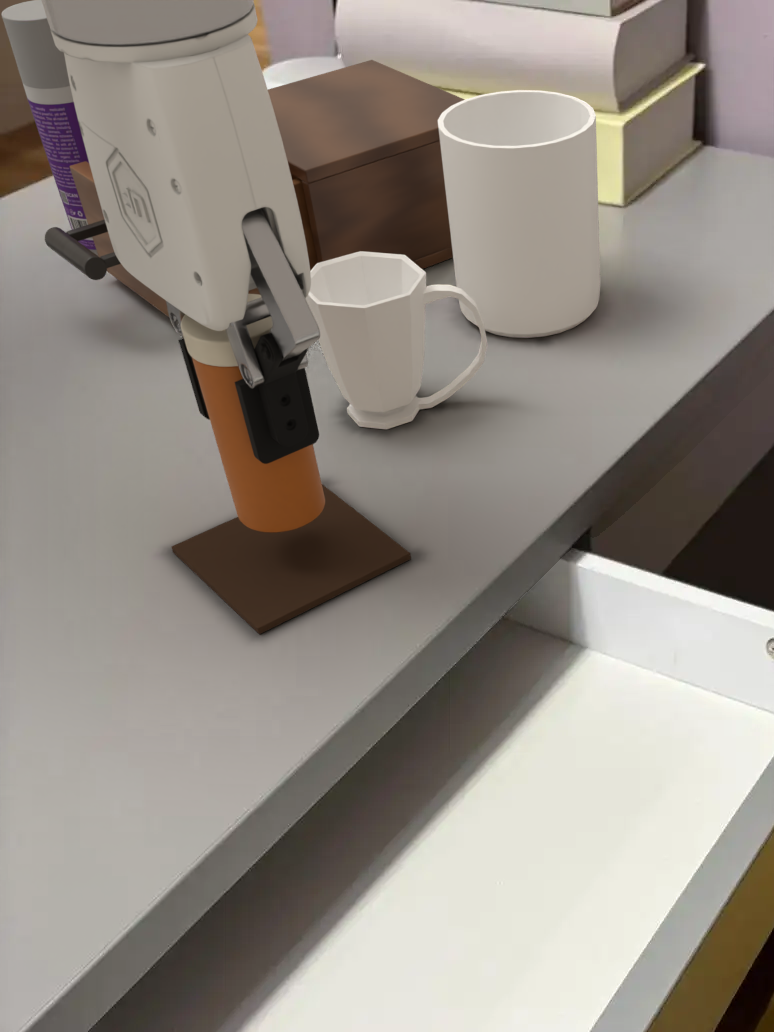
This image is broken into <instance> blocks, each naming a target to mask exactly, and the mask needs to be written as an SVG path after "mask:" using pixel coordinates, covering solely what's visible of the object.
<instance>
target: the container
mask: <svg viewBox="0 0 774 1032" xmlns="http://www.w3.org/2000/svg"><path fill="white" fill-rule="evenodd" d="M1 19H2V21H3V24H4V28H5V31H6V34H7V37H8V40H9V43H10V47H11V51H12V54H13V57H14V59H15V63H16V66H17V70H18V73H19V76H20V79H21V82H22V85H23V89H24V92H25V95H26V99H27V102H28V104H29V105H28V106H29V108H30V111H31V114H32V117H33V120H34V122H35V125H36V129H37V131H38V135H39V137H40V141H41V144H42V146H43V149H44V153H45V155H46V158H47V162H48V164H49V167H50V170H51V173H52V177H53V179H54V181H55V184H56V188H57V190H58V191H57V192H58V194H59V197H60V200H61V203H62V206H63V208H64V212H65V215H66V218H67V220H68V223H69V226H70V230H73V229H76V228H79V227H82V226H86V225H88V222H87V219H86V216H85V213H84V210H83V207H82V204H81V201H80V198H79V195H78V191H77V188H76V185H75V182H74V179H73V176H72V173H71V170H70V166H71V165H74V164H78V163H81V162H84V161H86V162H88V163H89V160H88V156H87V153H86V149H85V145H84V141H83V137H82V134H81V130H80V126H79V122H78V118H77V114H76V110H75V105H74V101H73V96H72V92H71V87H70V83H69V77H68V72H67V67H66V62H65V56H64V52H61V51H60V50H59V49H58V48H57V47H56V46H55V43H54V40H53V36H52V33H51V29H50V26H49V23H48V20H47V17H46V13H45V10H44V7H43V4H42V1H41V0H28V1H23V2H20V3H15V4H12V5H10V6H8V7H6V8H4V9H3V10H2V12H1ZM78 242H80V243H81V244H82V245H84V246H85V247H86V248H88V249H89V250H90V251H92V252H93V253H95V254H96V255H97V256H98V253H97V250H96V247H95V244H94V241H93V238H92V237H90V238H87V239H84V240H81V241H78Z"/></svg>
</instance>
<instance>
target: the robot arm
mask: <svg viewBox="0 0 774 1032" xmlns="http://www.w3.org/2000/svg"><path fill="white" fill-rule="evenodd" d="M41 1H42V4H43V7H44V10H45V13H46V17H47V20H48V23H49V26H50V29H51V33H52V36H53V40H54V43H55V46H56V47H57V48H58V49H59V50H60V51H61V52H64V56H65V62H66V67H67V72H68V77H69V83H70V87H71V92H72V96H73V101H74V105H75V110H76V114H77V118H78V122H79V126H80V130H81V134H82V137H83V141H84V145H85V149H86V153H87V156H88V160H89V164H90V168H91V171H92V175H93V179H94V183H95V186H96V190H97V194H98V197H99V201H100V205H101V208H102V212H103V215H104V219H105V223H106V226H107V230H108V233H109V237H110V240H111V243H112V246H113V249H114V252H115V254H116V256H117V258H118V260H119V261H120V263H121V264H122V266H123V267H124V268H125V269H126V270H127V271H128V272H129V273H130V274H131V275H132V276H134V277H135V278H136V279H138V280H139V281H140V282H141V283H143V284H144V285H145V286H147V287H148V288H150V289H151V290H152V291H154V292H155V293H156V294H158V295H159V296H160V297H162V298H163V299H165V300H166V304H167V309H168V314H169V317H168V318H169V321H170V324H171V325H172V328H173V329H174V331H175V332H176V334H177V335H178V336H180V337H183V333H182V330H181V321H182V318H183V317H184V315H185V314H186V315H187V316H189V317H190V318H192V319H193V320H195V321H197V322H198V323H200V324H202V325H203V326H205V327H207V328H210V329H212V330H215V331H222V330H226V333H227V336H228V339H229V342H230V345H231V347H232V350H233V353H234V356H235V359H236V362H237V364H238V367H239V370H240V373H241V375H242V378H243V379H241V380H239V381H236V382H235V386H236V390H237V393H238V397H239V401H240V405H241V408H242V412H243V416H244V420H245V423H246V427H247V431H248V435H249V438H250V442H251V446H252V450H253V453H254V456H255V457H256V458H257V459H258V460H259V461H260V462H262V463H264V464H268V463H271V462H273V461H275V460H277V459H280V458H282V457H284V456H287V455H289V454H291V453H294V452H296V451H298V450H300V449H303V448H305V447H307V446H310V445H312V444H313V445H314V444H316V443H317V442H318V440H319V439H320V431H319V425H318V421H317V417H316V412H315V407H314V403H313V399H312V395H311V389H310V385H309V380H308V376H307V372H306V368H307V367H308V366H309V359H308V355H307V352H308V351H309V349H310V348H311V347H312V346H313V345H314V344H315V343H317V341H319V340H318V339H319V338H320V330H319V327H318V324H317V322H316V320H315V318H314V316H313V314H312V311H311V309H310V307H309V305H308V303H307V301H306V297H307V295H308V293H309V291H310V287H311V273H310V265H309V258H308V252H307V246H306V240H305V235H304V230H303V225H302V220H301V215H300V211H299V207H298V202H297V198H296V193H295V189H294V185H293V181H292V177H291V173H290V169H289V165H288V161H287V157H286V154H285V150H284V146H283V142H282V138H281V135H280V131H279V128H278V124H277V120H276V117H275V113H274V110H273V106H272V103H271V99H270V96H269V93H268V89H269V88H268V86H267V83H266V80H265V77H264V73H263V70H262V67H261V64H260V61H259V56H258V54H257V51H256V48H255V45H254V42H253V38H252V36H250V33H251V32H252V31H254V30H255V28H256V27H257V24H258V21H259V19H258V15H257V10H256V5H255V2H254V1H255V0H41ZM255 288H258V291H259V293H260V295H261V298H258V299H255V300H252V301H250V302H247V299H248V292H249V290H252V289H255ZM270 316H271V318H272V324H273V326H272V328H271V329H270V332H269V333H267V334H265V335H262V336H261V337H260V338H259V340H258V343H257V345H256V347H255V349H254V346H253V343H252V340H251V337H250V334H249V331H248V329H247V326H246V325H249V324H252V323H254V322H257V321H259V320H262V319H265V318H267V317H270ZM178 344H179V347H180V350H181V355H182V357H183V360H184V364H185V367H186V371H187V374H188V379H189V381H190V384H191V388H192V391H193V395H194V398H195V402H196V405H197V408H198V412H199V414H200V415H202V416H203V417H204V418H205V419H206V420H208V421H210V418H209V415H208V412H207V408H206V405H205V401H204V398H203V394H202V391H201V387H200V384H199V380H198V377H197V374H196V370H195V367H194V363H193V360H192V357H191V355H190V354H189V353H188V350H187V347H186V344H185V340H184V337H183V338H180V339H178Z"/></svg>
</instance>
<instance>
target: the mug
mask: <svg viewBox="0 0 774 1032" xmlns="http://www.w3.org/2000/svg"><path fill="white" fill-rule="evenodd" d="M464 99H465V98H464ZM438 128H439V137H440V146H441V155H442V164H443V172H444V181H445V190H446V199H447V207H448V216H449V225H450V234H451V242H452V251H453V258H452V259H453V268H454V276H455V285H456V286H455V287H458V288H461V289H462V290H463V291H464V292H465V293H466V294H468V295H469V296H470V297H471V298H472V299H473V300H474V301H475V303H476V305H477V308H478V310H479V312H480V315H481V317H482V320H483V324H484V329H485V332H487V333H490V334H493V335H496V336H503V337H508V338H520V339H529V338H530V339H531V338H532V339H533V338H541V337H542V338H543V337H549V336H552V335H557V334H561V333H563V332H566V331H568V330H571V329H574V328H576V326H578V325H580V324H582V323H583V322H585V321H586V320H587V319H588V318H589V317H590V316H591V315H592V314H593V312H594V311H595V310H596V309H597V307H598V305H599V301H600V292H601V259H600V256H601V255H600V253H601V252H600V219H599V218H600V216H599V185H598V184H599V183H598V182H599V181H598V180H599V179H598V146H597V145H598V143H597V115H596V111H595V109H594V107H592V106H591V105H590V104H589V103H588V102H586V101H584V100H582V99H580V98H578V97H576V96H573V95H570V94H565V93H561V92H557V91H549V90H548V91H547V90H537V89H535V90H533V89H530V90H529V89H516V90H501V91H495V92H489V93H484V94H479V95H476V96H472V97H468V98H466V99H465V100H463V101H461V102H458V103H456V104H454V105H452V106H450V107H449V108H448V109H446V110H445V111H444V112H442V114H441V115H440V117H439V119H438ZM458 303H459V309H460V312H461V313H462V314H463V316H464V317H465V318H466V319H467V320H468V321H469V322H470V323H472V324H473V325H475V326H476V327H478V328H479V326H478V324H477V321H476V319H475V316H474V314H473V312H472V311H471V310H470V309H469V308H468V307H467V306H466V305H465V304H464V303H462V302H461V301H460V300H459V299H458Z"/></svg>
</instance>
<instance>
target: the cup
mask: <svg viewBox="0 0 774 1032" xmlns="http://www.w3.org/2000/svg"><path fill="white" fill-rule="evenodd" d="M310 273H311V287H310V291H309V293H308V295H307V297H306V301H307V303H308V305H309V307H310V309H311V311H312V314H313V316H314V318H315V320H316V322H317V324H318V327H319V330H320V338H319V339H318V340H317V341H318V343H319V345H320V346H319V347H320V349H321V351H322V354H323V356H324V357H323V358H324V360H325V363H326V366H327V367H328V370H329V371H330V373H331V376H332V377H333V379H334V381H335V384H336V385H337V388H338V389H339V391H340V393H341V395H342V397H343V398H344V399H345V400H346V401H347V402H348V403H349V405H348V406H347V407H346V411H347V415H348V416H349V417H350V418H351V419H352V420H353V421H354V422H355V424H356V425H357V426H358V427H361V428H369V429H370V428H371V429H378V430H389V429H393V428H395V427H398V426H402V425H404V424H407V423H410V422H413V421H414V419H415V417H416V416H417V414H418V413H419V411H420V410H425V409H432V408H433V407H435V406H437V405H439V404H440V403H443V402H444V401H446V400H448V399H449V398H450V397H452V396H453V395H454V394H455V393H457V391H459V390H460V389H462V388H463V386H465V385H466V384H467V383H468V382H469V381H471V379H473V378H474V377H475V375H476V374H477V372H479V370H480V368H481V367H482V366H483V364H484V363H485V359H486V355H487V354H486V353H487V350H488V340H487V334H486V331H485V329H484V324H483V320H482V317H481V315H480V312H479V310H478V308H477V305H476V303H475V301H474V300H473V299H472V298H471V297H470V296H469V295H468V294H466V293H465V292H464V291H463V290H462V289H461V288H458V287H457V286H455V285H452V284H429V285H427V272H426V271H425V270H424V269H421V268H420V267H419V266H418V265H416V264H415V263H414V262H413V261H412V260H410V259H409V258H408V257H407V256H406V255H401V254H389V253H376V252H364V251H359V252H356V253H352V254H348V255H345V256H341V257H338V258H334V259H330V260H327V261H323V262H320V263H317V264H316V265H315V266H314V267H313V268H312V270H311V271H310ZM450 297H451V298H454V299H456V300H458V301H459V300H460V301H461V302H462V303H464V304H465V305H466V306H467V307H468V308H469V309H470V310H471V311H472V312H473V314H474V316H475V319H476V321H477V324H478V326H479V327H478V326H477V327H478V329H479V333H480V338H481V339H480V344H479V349H478V352H477V355H476V356H475V357H474V359H473V360H472V361H471V363H470V364H469V365H468V366H467V367H466V369H465V370H463V371H462V372H461V373H460V374H459V375H457V377H455V378H454V379H453V380H452V381H451V382H449V384H447V385H446V386H445V387H443V388H441V389H440V390H439V391H438V390H437V391H436V392H435V393H433V394H431V395H429V396H424V397H418V396H417V394H418V392H419V391H420V389H421V387H422V379H423V372H424V363H425V356H426V305H427V304H430V303H433V302H434V301H439V300H442V299H446V298H450Z"/></svg>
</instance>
